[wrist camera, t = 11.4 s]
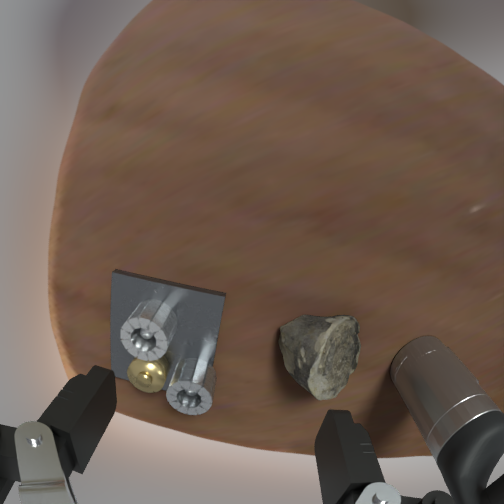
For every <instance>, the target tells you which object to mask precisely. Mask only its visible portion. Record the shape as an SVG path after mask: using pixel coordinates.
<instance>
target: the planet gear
mask: <svg viewBox="0 0 504 504" xmlns="http://www.w3.org/2000/svg"><path fill="white" fill-rule="evenodd" d="M171 309H172V308H171V307H170V306H168V305H167V304H166V303H165V302H163V304H162V301H159V300H155V299H152V300H151V299H149V300H146V301H142V302H141V303H140V304H139V305H138V307H137V308H136V309H135V310H134V312H133V313H132V314H131V316H130V317H129V318H128V319H127V321H126V322H125V323H124V325H123V326H122V327H121V335H120V339H122V340H121V341H122V343H123V345H124V347H125V349H128V350H127V351H128V352H129V353H130V354H132V355H133V356H134V357H137V356H138V358H137V359H141V360H145V361H148V360H149V361H153V360H158V359H159V358H161V357H162V356H163V355H164V354H165V353H166V351H167V349H168V347H169V345H170V342H171V340H172V338H173V336H174V334H175V332H176V329H177V321H178V320H177V317H176V315H175V313H174V311H173V310H171ZM142 328H144V329H147V330H149V331H150V332H151V333H153V336H152V338H150V339H144V338H143V337H142V336H141V334H140V330H141V329H142Z"/></svg>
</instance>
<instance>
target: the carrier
mask: <svg viewBox="0 0 504 504" xmlns="http://www.w3.org/2000/svg"><path fill="white" fill-rule="evenodd" d="M225 296H226V293H223V292H218V291H213V290H209V289H204V288H199V287H194V286H189V285H185V284H180V283H175V282H171V281H166V280H161V279H157V278H152V277H148V276H144V275H139V274H135V273H130V272H126V271H122V270H118V269H115V270H114V271H113V272H112V285H111V370H113V371H114V373H115V377H118V378H122V379H125V380H129V381H130V382H131V383H132V384H133V385H134V386H135V387H136V388H138V389H139V390H141V391H144V392H149V393H153V392H157V391H159V390H161V389H162V390H166V391H167V389H168V386H169V384H170V381H171V378H172V376H173V373H174V370H175V368H176V366H177V364H178V363H179V362H180V361H182V360H184V359H187V358H197V361H198V359H201V360H204V361H206V362H208V363H207V364H210V365H211V366H212V367H213V361H214V356H215V350H216V345H217V339H218V334H219V328H220V323H221V317H222V312H223V306H224V301H225ZM149 299H151V300H152V299H155V300H159V301H162V304H163V302H165V303H166V304H167V305H168V306H170V307H171V308H172V309H171V310H173V311H174V313H175V315H176V317H177V320H178V321H177V329H176V332H175V334H174V336H173V338H172V340H171V342H170V345H169V347H168V349H167V351H166V353H165V354H164V355H163V356H162V357H161V358H159V359H158V360H153V361H149V360H148V361H145V360H141V359H137V358H138V356H137V357H134V356H133V355H132V354H130V353H129V352H128V351H127V350H128V349H125V347H124V345H123V343H122V341H121V340H122V339H120V335H121V327H122V326H123V325H124V323H125V322H126V321H127V319H128V318H129V317H130V316H131V314H132V313H133V312H134V310H135V309H136V308H137V307H138V305H139V304H140V303H141V302H142V301H146V300H149ZM140 334H141V336H142V337H143V338H144V339H150V338H152V336H153V333H151V332H150V331H149V330H147V329H144V328H142V329H141V330H140ZM185 392H186V393H187V394H188V395H190V396H194V395H196V394H197V392H195V391H192V390H188V389H185Z"/></svg>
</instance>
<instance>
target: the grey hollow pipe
mask: <svg viewBox="0 0 504 504" xmlns="http://www.w3.org/2000/svg"><path fill="white" fill-rule="evenodd" d="M207 363H208V362H206V361H204V360H201V359H198V361H197V358H187V359H184V360H182V361H180V362H179V363H178V364H177V366H176V368H175V370H174V373H173V376H172V378H171V381H170V384H169V386H168V389H167V392H166V396H167V400H168V402H169V404H170V405H171V406H172V407H173V408H174V409H177V411H179V412H182V413H184V414H187V413H188V415H198V414H199V415H200V414H202V413H204V412H207V410H209V408H210V407H211V405H212V402H213V396H214V391H215V385H216V379H217V378H216V371H215V369H214V368H213V367H212V366H211V365H210V364H207ZM185 389H188V390H192V391H195V392H197V394H196V395H194V396H190V395H188V394H187V393H186V392H185Z"/></svg>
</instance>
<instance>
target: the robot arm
mask: <svg viewBox="0 0 504 504" xmlns="http://www.w3.org/2000/svg"><path fill="white" fill-rule="evenodd" d="M390 375H391V379H392V381H393V383H394V384H395V386H396V388H397V390H398V392H399V393H400V395H401V397H402V399H403V401H404V403H405V405H406V406H407V408H408V410H409V412H410V414H411V416H412V417H413V419H414V421H415V423H416V425H417V427H418V429H419V430H420V432H421V434H422V436H423V438H424V440H425V442H426V444H427V446H428V447H429V449H430V451H431V453H432V455H433V457H434V459H435V461H436V463H437V465H438V467H439V469H440V471H441V473H442V476H443V478H444V481H445V483H446V485H447V487H448V489H449V491H450V494H451V496H452V497H451V496H450V495H449V494H447V493H445V492H443V491H431V492H429V493H427V494H426V495H425V496H424V497H423V498H422V499H421V498H413V497H405V496H401V495H400V494H399V492H398V491H397V489H396V488H394V487H393V486H391V485H389V484H387V483H385V480H384V477H383V474H382V472H381V468H380V465H379V463H378V460H377V457H376V454H375V453H374V448H373V445H371V443H372V442H371V440H370V437H369V434H368V432H367V431H366V430H365V429H364V428H363V426H362V425H361V424H354V422H353V419H352V416H351V413H350V411H348V410H328V412H327V414H326V416H325V418H324V421H323V423H322V425H321V427H320V430H319V432H318V434H317V436H316V440H315V456H316V462H317V467H318V474H319V481H320V487H321V493H322V500H323V504H504V474H503V475H502V476H501V477H500V478H498V479H497V480H496V481H494V482H493V483H492V484H491V485H489V486H488V487H487V488H486V486H487V482H488V479H489V477H490V475H491V473H492V471H493V469H494V467H495V466H496V464H497V463H498V461H499V459H500V458H501V456H502V455H503V453H504V414H503V413H502V412H501V410H500V409H499V408H498V407H497V405H496V404H495V403H494V402H493V401H492V399H491V398H490V397H489V396H488V395H487V394H486V392H485V391H484V390H483V389H482V388H481V386H480V385H479V382H478V380H477V379H476V377H475V376H474V375H473V374H472V373H471V372H470V371H469V369H468V368H467V367H466V366H465V365H464V364H463V363H462V362H461V361H460V359H459V358H458V357H457V356H456V355H455V354H454V353H453V352H452V351H451V350H450V348H449V347H446V346H445V345H444V344H443V343H442V342H441V341H440V340H439V339H438V338H435V337H432V336H424V337H420V338H417V339H415V340H413V341H411V342H409V343H408V344H407V345H405V346H404V347H403V348H402V349H401V350H400V351H399V352H398V354H397V355H396V357H395V358H394V360H393V362H392V365H391V370H390ZM116 404H117V398H116V385H115V373H114V371H113V370H109V369H106V368H103V367H100V366H96V365H95V366H93V367H92V369H91V370H90V371H89V372H88V374H87V375H86V376H85V375H83V374H79V375H77V376H75V377H73V378H72V379H70V380H69V381H68V382H67V383H66V385H65V386H64V387H63V390H61V391H60V392H59V394H58V396H57V397H55V399H54V400H53V401H52V402H51V404H50V405H49V406H48V408H47V409H46V410H45V411H44V413H43V414H42V416H41V417H40V418H39V419H38V420H37V422H36V421H31V422H25V423H23V424H21V425H20V426H19V427H18V428H15V427H10V426H5V425H1V424H0V504H3V503H4V501H5V499H6V497H7V495H8V493H9V491H10V490H11V488H12V486H13V484H14V482H15V481H18V482H21V485H19V487H18V489H19V496H20V501H21V504H78V503H77V500H76V497H75V494H74V492H73V488H72V485H71V483H70V479H69V476H70V475H71V473H72V471H76V472H78V473H81V474H83V472H84V470H85V468H86V466H87V464H88V462H89V460H90V458H91V456H92V454H93V453H94V451H95V449H96V447H97V445H98V443H99V441H100V439H101V437H102V436H103V434H104V432H105V430H106V428H107V426H108V424H109V422H110V420H111V418H112V417H113V415H114V413H115V409H116Z"/></svg>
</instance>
